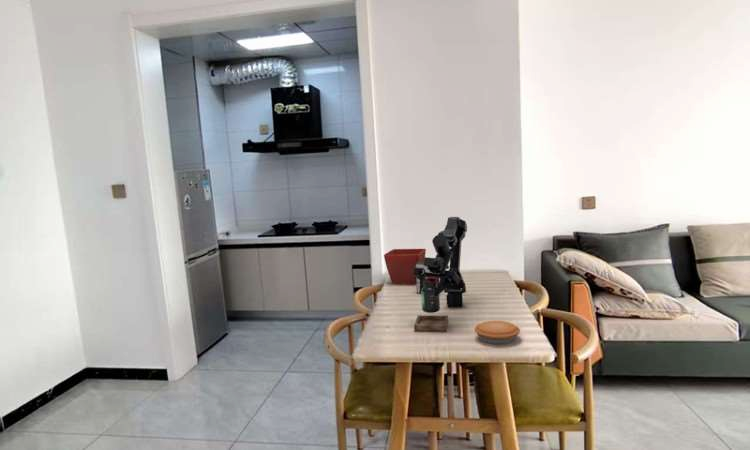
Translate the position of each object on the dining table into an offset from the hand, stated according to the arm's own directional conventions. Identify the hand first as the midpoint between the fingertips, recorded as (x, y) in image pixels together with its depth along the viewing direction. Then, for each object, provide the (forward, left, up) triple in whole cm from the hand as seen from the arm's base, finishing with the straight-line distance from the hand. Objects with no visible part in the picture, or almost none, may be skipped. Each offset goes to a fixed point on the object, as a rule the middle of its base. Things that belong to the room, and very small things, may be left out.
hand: (428, 294), depth 179 cm
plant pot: (+19, -74, -13) cm, 78 cm away
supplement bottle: (-1, -1, -7) cm, 7 cm away
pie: (-25, +11, -13) cm, 30 cm away
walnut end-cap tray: (-1, -1, -13) cm, 13 cm away
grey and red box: (+5, -50, -13) cm, 52 cm away
